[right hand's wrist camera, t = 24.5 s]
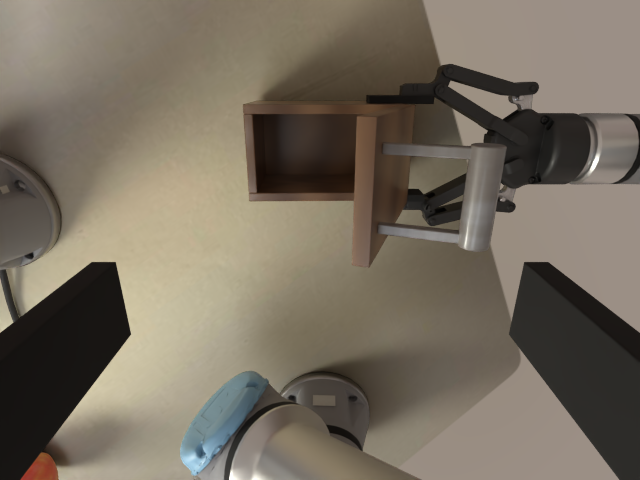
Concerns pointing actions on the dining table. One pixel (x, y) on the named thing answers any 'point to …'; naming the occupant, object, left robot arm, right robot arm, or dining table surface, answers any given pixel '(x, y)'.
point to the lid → (393, 178)
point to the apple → (42, 469)
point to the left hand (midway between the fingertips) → (365, 149)
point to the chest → (303, 148)
